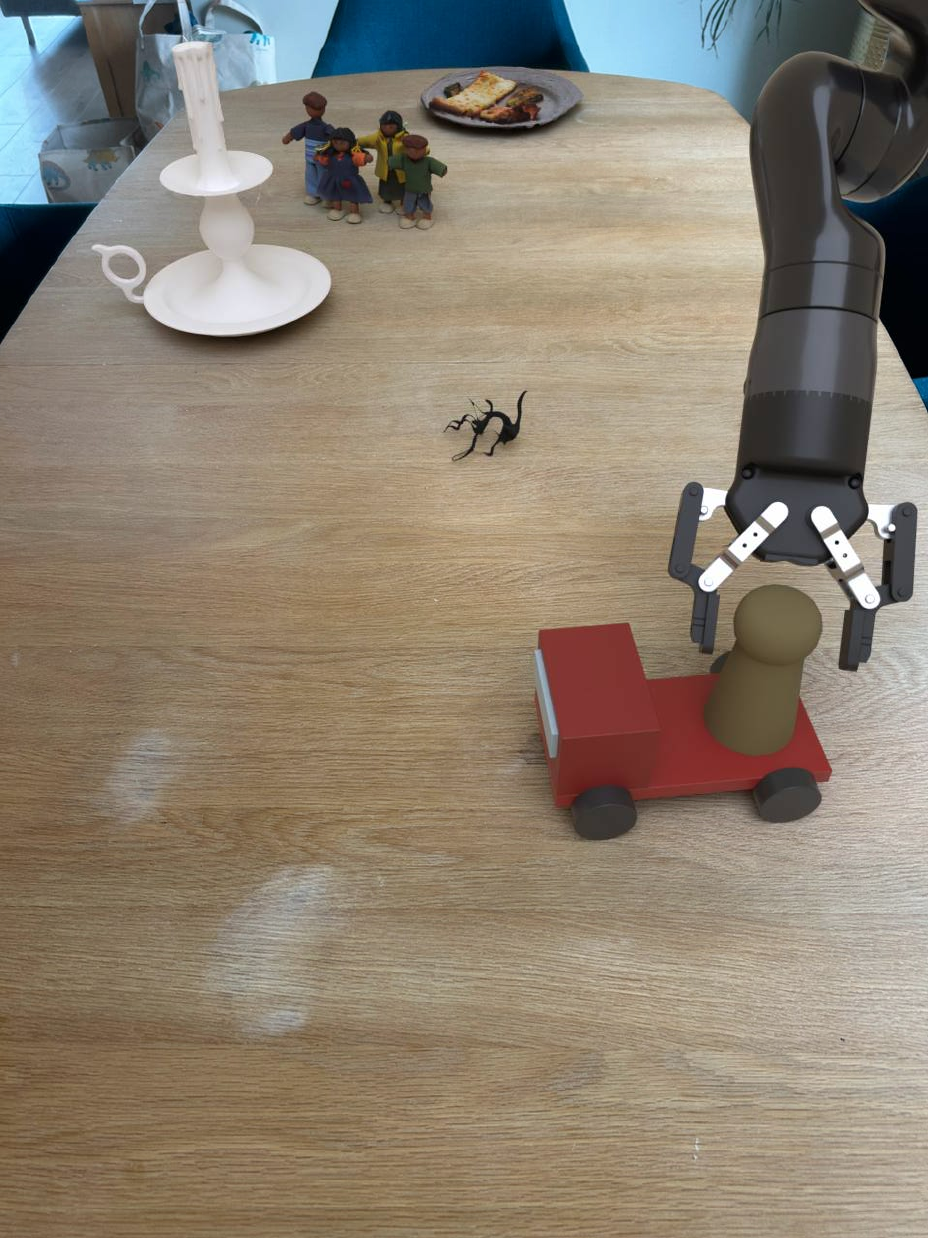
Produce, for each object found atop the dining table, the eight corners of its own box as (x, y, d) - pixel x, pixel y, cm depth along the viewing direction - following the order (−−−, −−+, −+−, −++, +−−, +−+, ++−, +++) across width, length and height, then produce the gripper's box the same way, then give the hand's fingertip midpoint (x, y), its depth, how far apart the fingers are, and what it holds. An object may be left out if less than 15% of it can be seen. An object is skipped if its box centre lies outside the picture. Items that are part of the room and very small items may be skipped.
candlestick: (126, 276, 119) (54, 10, 99) (333, 264, 121) (304, 0, 101) (98, 369, 105) (7, 80, 85) (334, 354, 106) (299, 67, 86)
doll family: (272, 219, 130) (255, 110, 120) (292, 190, 136) (278, 84, 126) (446, 231, 127) (444, 120, 117) (459, 201, 133) (458, 93, 123)
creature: (433, 469, 94) (512, 470, 91) (419, 419, 91) (500, 420, 87) (462, 423, 99) (538, 423, 96) (450, 375, 96) (528, 373, 92)
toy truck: (771, 680, 74) (799, 591, 67) (828, 818, 66) (867, 732, 59) (524, 702, 73) (529, 613, 66) (551, 845, 64) (559, 760, 58)
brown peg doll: (789, 765, 65) (832, 650, 57) (696, 742, 66) (725, 627, 58) (798, 697, 69) (839, 581, 61) (710, 676, 70) (739, 560, 62)
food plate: (523, 151, 145) (524, 125, 142) (393, 120, 154) (391, 96, 151) (603, 99, 159) (605, 75, 157) (480, 73, 168) (480, 50, 166)
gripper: (694, 375, 58) (663, 651, 59) (950, 395, 56) (916, 680, 57) (684, 402, 66) (656, 646, 66) (910, 420, 64) (879, 672, 64)
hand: (776, 662), depth 62 cm, fingers open, 8 cm apart
